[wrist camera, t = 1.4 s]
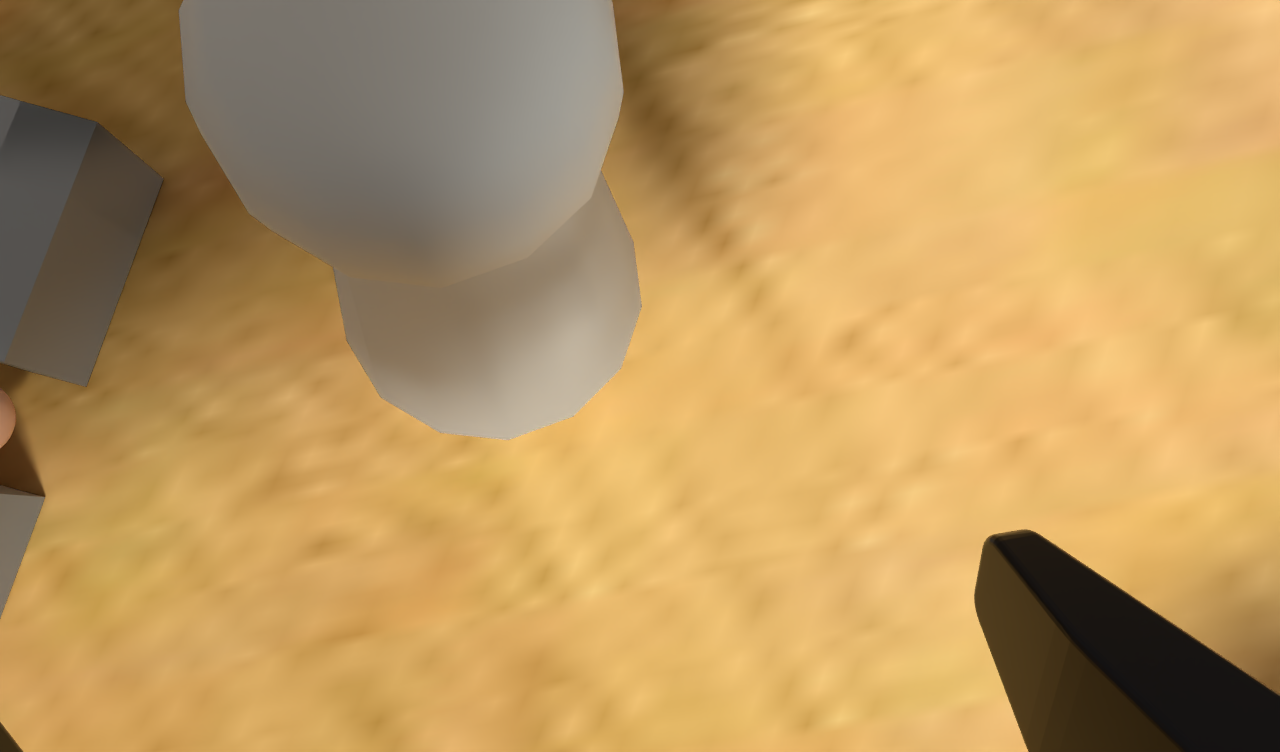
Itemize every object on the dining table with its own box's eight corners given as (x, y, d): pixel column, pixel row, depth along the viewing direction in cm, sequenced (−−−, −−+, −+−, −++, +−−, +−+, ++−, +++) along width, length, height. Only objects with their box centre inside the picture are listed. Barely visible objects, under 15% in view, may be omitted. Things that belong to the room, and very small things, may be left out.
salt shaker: (315, 358, 21) (-91, 90, 8) (461, 144, 22) (292, -387, 9) (546, 500, 21) (488, 445, 8) (684, 279, 22) (821, -80, 9)
